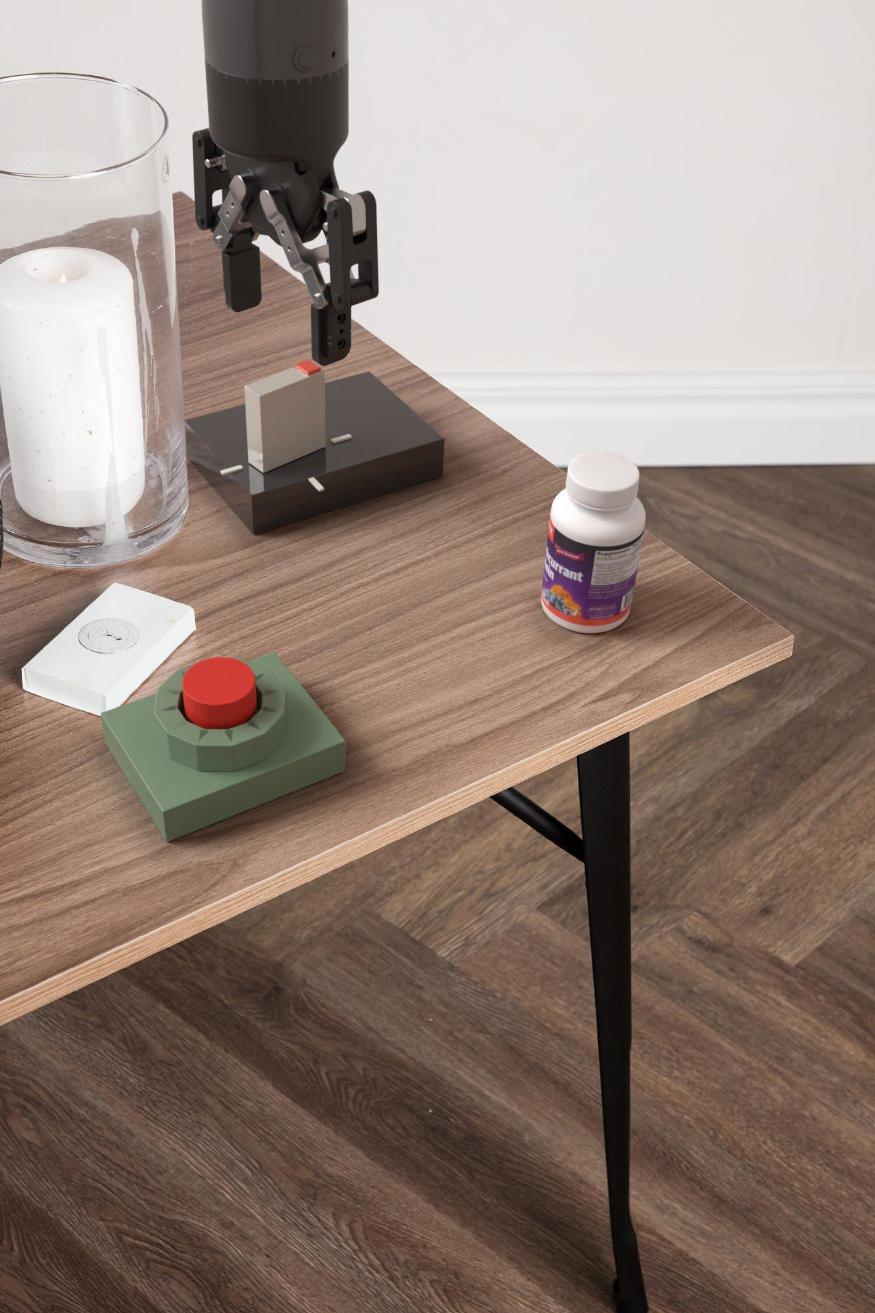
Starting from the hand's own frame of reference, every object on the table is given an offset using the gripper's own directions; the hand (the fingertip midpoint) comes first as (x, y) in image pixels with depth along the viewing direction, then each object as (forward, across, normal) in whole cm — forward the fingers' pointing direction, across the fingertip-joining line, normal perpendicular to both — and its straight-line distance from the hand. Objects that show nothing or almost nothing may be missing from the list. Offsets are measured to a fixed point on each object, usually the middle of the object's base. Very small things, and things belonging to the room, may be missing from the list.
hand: (285, 332), depth 84 cm
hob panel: (+12, +2, -3) cm, 12 cm away
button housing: (+12, -17, +17) cm, 27 cm away
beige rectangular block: (+9, 0, 0) cm, 9 cm away
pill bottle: (+12, -20, -7) cm, 24 cm away
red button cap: (+8, -17, +17) cm, 26 cm away
